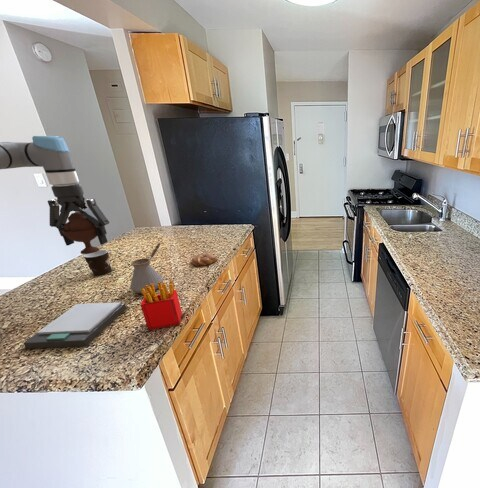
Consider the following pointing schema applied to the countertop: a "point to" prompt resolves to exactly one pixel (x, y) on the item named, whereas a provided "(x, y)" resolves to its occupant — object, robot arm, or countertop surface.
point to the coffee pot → (144, 274)
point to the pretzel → (203, 259)
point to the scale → (76, 326)
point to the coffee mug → (99, 262)
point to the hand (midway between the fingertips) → (87, 243)
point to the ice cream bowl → (81, 231)
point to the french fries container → (161, 306)
